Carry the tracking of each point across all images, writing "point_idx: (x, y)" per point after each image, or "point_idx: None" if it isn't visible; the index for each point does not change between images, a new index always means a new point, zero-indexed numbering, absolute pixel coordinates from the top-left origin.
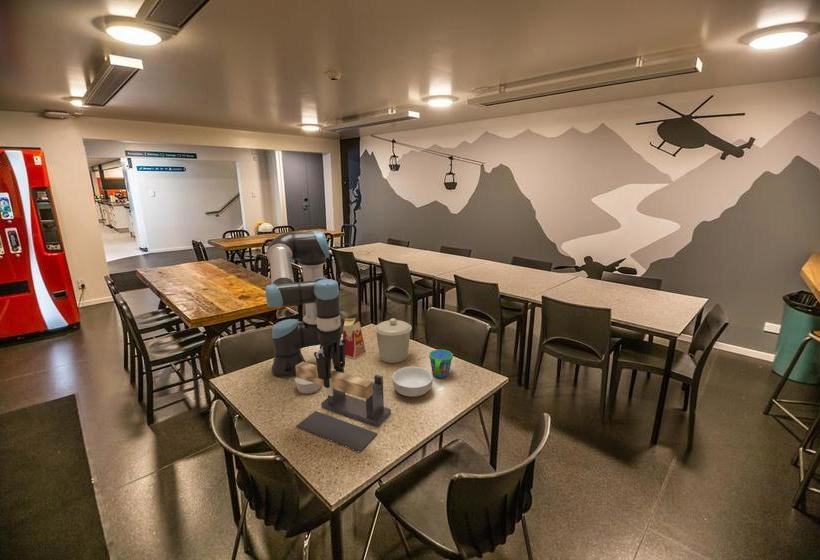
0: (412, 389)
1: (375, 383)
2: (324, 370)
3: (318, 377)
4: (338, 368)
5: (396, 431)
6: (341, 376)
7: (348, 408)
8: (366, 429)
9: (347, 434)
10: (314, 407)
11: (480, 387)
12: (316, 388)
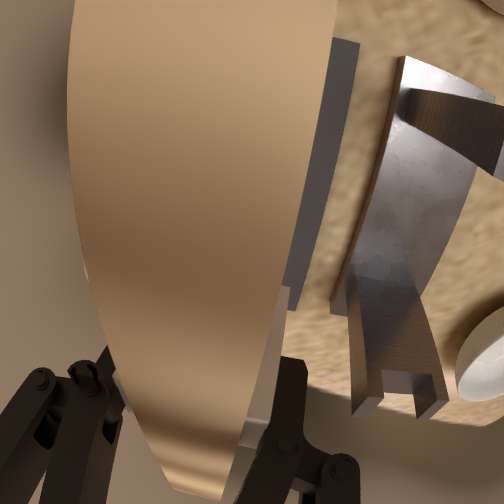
0: (457, 378)
1: (418, 379)
2: (33, 466)
3: (29, 376)
4: (247, 474)
5: (321, 342)
6: (182, 459)
7: (395, 193)
8: (303, 281)
9: None
10: (388, 26)
11: (474, 414)
12: (490, 3)
